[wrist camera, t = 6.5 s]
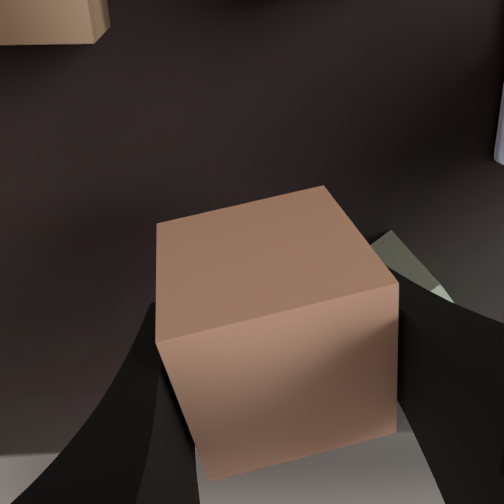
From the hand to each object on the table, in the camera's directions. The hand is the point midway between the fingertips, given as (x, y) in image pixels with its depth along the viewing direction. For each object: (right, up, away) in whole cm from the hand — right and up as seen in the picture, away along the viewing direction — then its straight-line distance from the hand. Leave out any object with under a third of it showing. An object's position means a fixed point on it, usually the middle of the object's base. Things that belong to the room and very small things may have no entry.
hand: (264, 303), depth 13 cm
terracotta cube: (0, +1, +1) cm, 2 cm away
